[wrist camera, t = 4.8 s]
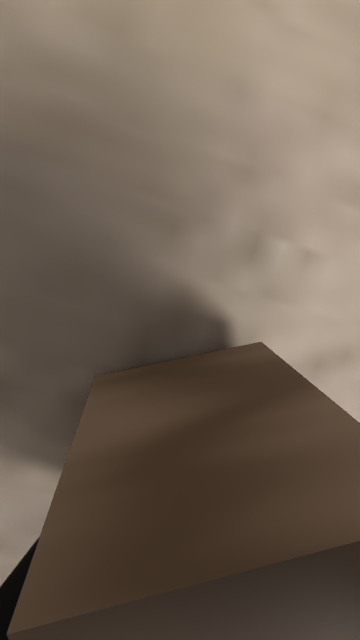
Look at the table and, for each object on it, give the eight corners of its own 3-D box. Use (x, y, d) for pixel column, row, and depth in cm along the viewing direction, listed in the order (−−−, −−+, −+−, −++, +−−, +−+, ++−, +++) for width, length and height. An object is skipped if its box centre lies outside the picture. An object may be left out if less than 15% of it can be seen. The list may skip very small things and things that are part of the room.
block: (261, 341, 9) (467, 512, 3) (274, 477, 10) (440, 765, 5) (94, 376, 9) (6, 634, 3) (131, 511, 10) (117, 874, 4)
